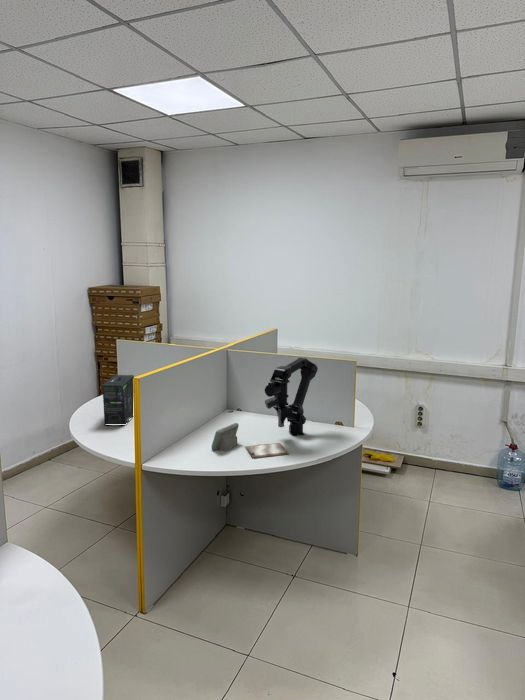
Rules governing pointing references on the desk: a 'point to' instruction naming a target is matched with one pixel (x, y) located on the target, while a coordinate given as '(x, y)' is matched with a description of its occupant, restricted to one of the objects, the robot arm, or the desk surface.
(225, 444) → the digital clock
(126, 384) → the headset box
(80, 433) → the desk surface
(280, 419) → the glue stick
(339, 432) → the desk surface
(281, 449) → the clipboard
